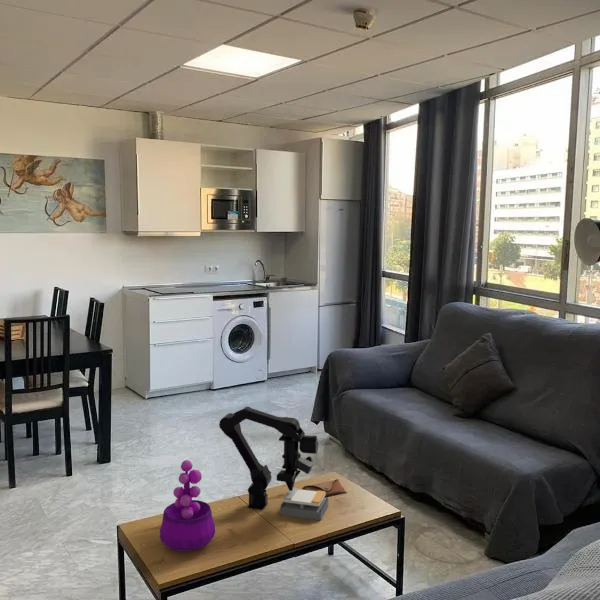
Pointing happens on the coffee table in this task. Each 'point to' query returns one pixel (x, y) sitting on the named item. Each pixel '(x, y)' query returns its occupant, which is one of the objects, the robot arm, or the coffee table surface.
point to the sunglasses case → (327, 488)
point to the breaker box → (304, 510)
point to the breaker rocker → (304, 497)
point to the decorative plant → (187, 515)
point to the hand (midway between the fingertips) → (291, 490)
